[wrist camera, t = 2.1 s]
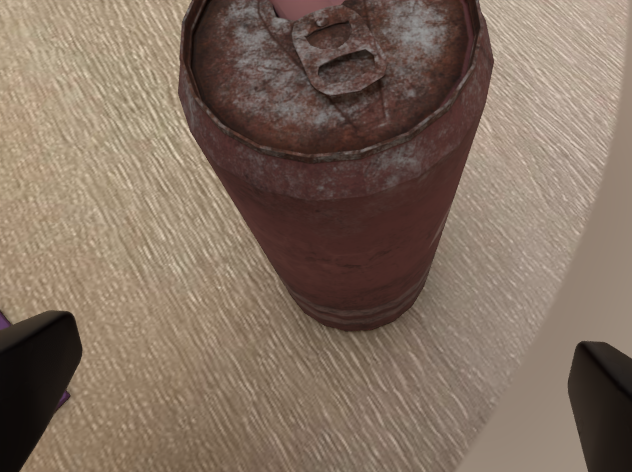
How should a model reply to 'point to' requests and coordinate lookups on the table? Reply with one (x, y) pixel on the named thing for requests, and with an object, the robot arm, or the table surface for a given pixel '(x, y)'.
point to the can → (339, 136)
